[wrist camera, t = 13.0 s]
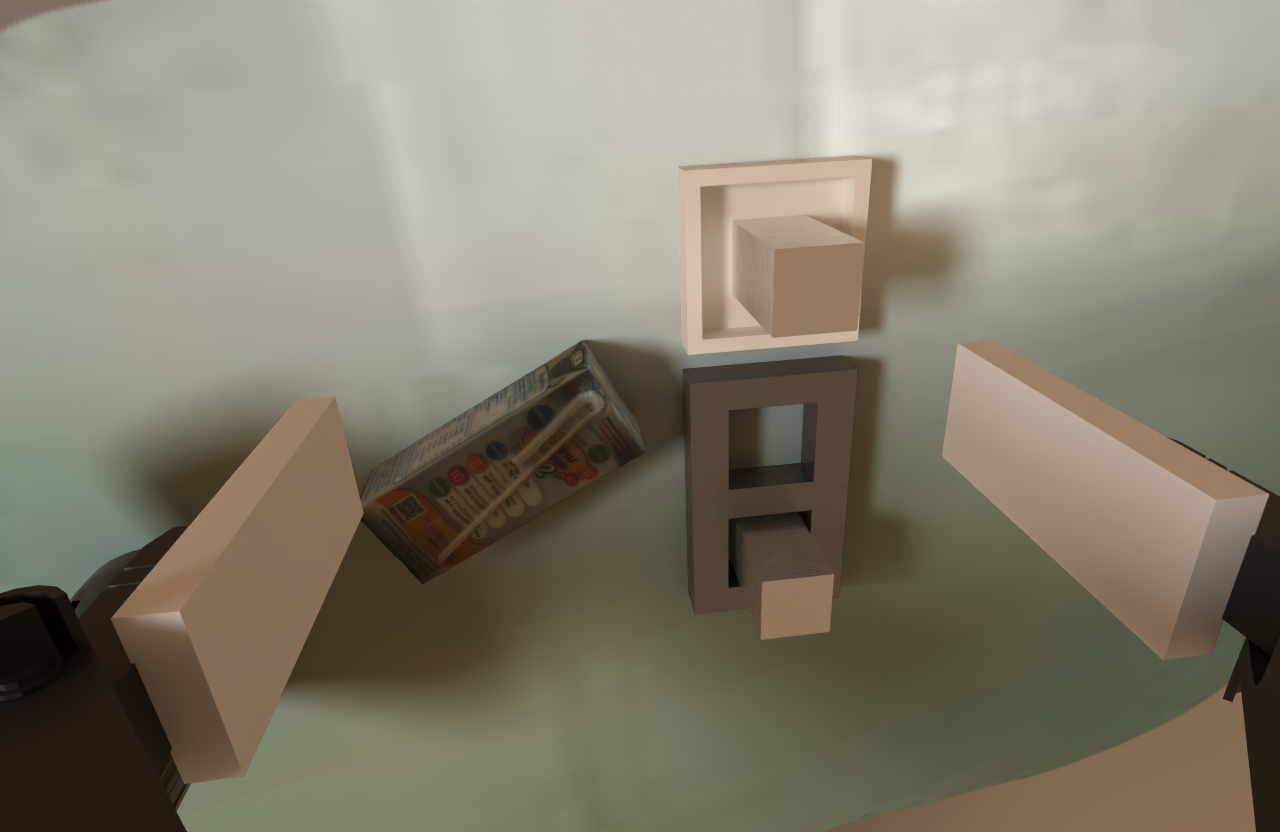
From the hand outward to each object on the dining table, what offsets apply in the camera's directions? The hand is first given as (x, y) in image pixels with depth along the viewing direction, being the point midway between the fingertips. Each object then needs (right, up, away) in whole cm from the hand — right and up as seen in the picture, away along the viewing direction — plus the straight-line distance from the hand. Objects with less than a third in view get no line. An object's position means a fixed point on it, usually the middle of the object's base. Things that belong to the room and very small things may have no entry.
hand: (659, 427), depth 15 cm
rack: (+9, -5, +42) cm, 43 cm away
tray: (+8, +11, +34) cm, 37 cm away
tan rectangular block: (+8, +11, +34) cm, 36 cm away
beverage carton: (-10, -2, +38) cm, 40 cm away
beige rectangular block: (+9, -9, +43) cm, 45 cm away
